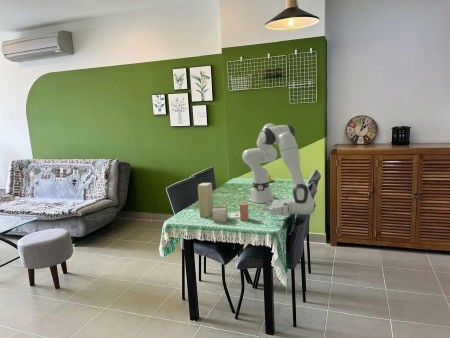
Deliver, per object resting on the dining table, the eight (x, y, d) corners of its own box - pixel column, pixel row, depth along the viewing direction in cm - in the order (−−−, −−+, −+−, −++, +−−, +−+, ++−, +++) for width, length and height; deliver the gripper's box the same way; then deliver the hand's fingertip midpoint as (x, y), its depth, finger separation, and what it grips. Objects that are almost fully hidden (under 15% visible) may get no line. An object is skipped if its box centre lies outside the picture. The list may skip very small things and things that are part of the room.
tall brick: (241, 218, 212) (240, 202, 211) (248, 218, 212) (247, 202, 210) (240, 220, 208) (239, 204, 206) (247, 220, 207) (247, 204, 206)
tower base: (215, 217, 216) (214, 205, 215) (227, 217, 215) (227, 205, 213) (213, 221, 208) (212, 209, 207) (225, 221, 207) (225, 209, 205)
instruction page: (230, 212, 224) (230, 212, 224) (242, 212, 223) (242, 211, 223) (230, 217, 214) (230, 217, 214) (243, 217, 214) (243, 216, 214)
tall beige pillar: (204, 212, 227) (201, 182, 223) (214, 213, 224) (212, 182, 220) (198, 216, 220) (196, 185, 216) (209, 217, 217) (206, 185, 213)
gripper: (288, 197, 211) (265, 197, 214) (285, 206, 191) (261, 206, 195) (288, 206, 212) (266, 206, 215) (285, 217, 192) (261, 216, 196)
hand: (263, 206), depth 205 cm, fingers open, 8 cm apart
